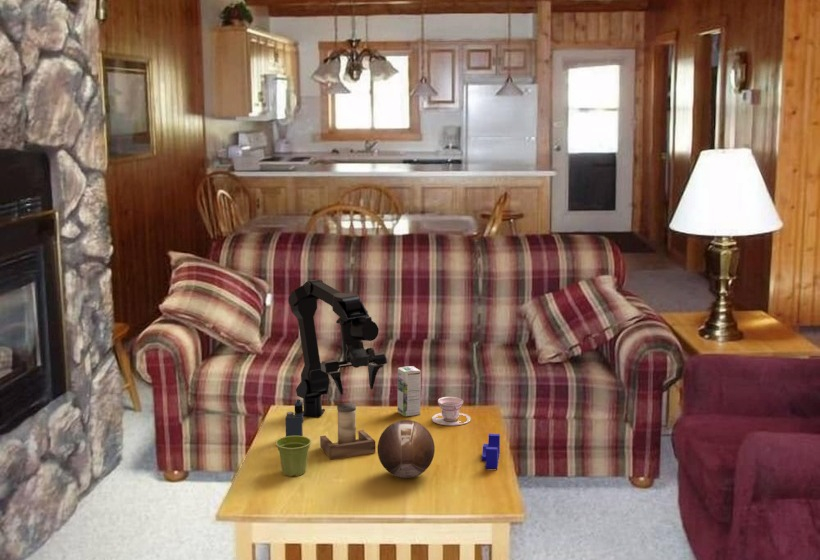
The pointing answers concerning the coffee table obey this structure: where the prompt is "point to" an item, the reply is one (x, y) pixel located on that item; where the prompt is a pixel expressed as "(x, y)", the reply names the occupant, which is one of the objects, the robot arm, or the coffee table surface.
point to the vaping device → (295, 421)
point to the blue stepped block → (491, 451)
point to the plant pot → (293, 454)
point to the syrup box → (409, 391)
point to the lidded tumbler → (346, 423)
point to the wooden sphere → (406, 449)
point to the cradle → (349, 446)
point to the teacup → (450, 411)
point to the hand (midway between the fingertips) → (356, 391)
